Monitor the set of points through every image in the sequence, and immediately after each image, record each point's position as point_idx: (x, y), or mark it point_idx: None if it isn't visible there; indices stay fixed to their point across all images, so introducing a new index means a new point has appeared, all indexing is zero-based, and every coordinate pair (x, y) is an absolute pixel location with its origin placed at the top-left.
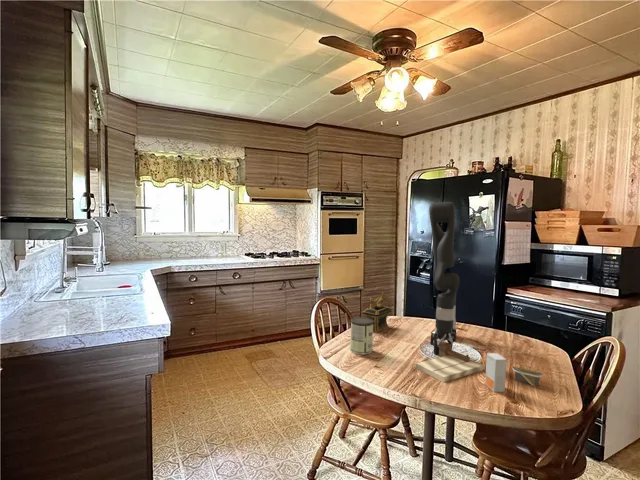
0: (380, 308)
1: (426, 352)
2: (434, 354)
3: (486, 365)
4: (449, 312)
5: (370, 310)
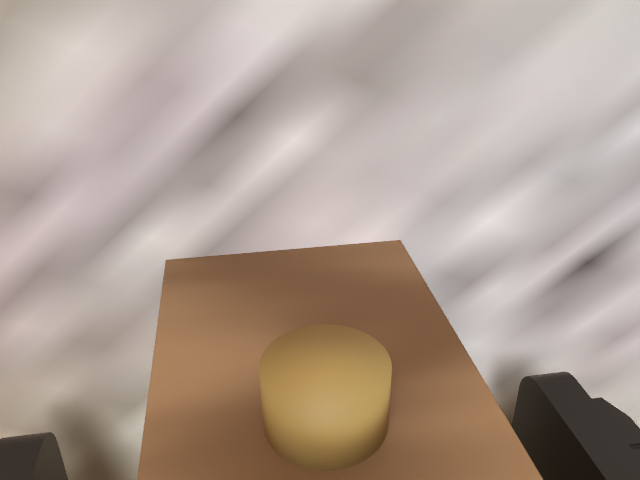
0: None
1: (32, 52)
2: (166, 264)
3: None
4: None
5: None
